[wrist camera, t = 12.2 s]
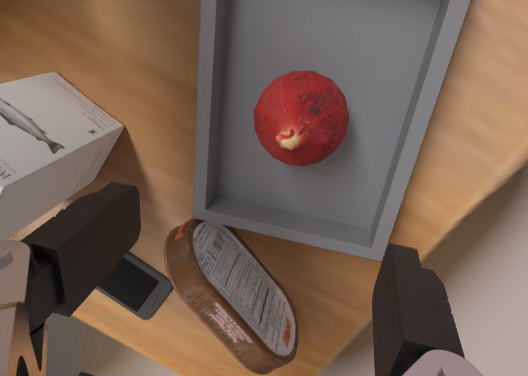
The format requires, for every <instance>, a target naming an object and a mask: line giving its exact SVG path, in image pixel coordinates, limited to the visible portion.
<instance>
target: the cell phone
mask: <svg viewBox="0 0 528 376" xmlns="http://www.w3.org/2000/svg"><path fill="white" fill-rule="evenodd" d="M62 210H63V209H62ZM62 210H60V211H59V212H61V211H62ZM59 212H58V213H59ZM96 289H97V290H99V291H100V292H102V293H103V294H105V295H106V296H108V297H109V298H111V299H112V300H114V301H115V302H117V303H118V304H120V305H121V306H123V307H125V308H126V309H128V310H129V311H131V312H132V313H134V314H135V315H137V316H138V317H140V318H141V319H144V320H146V319H149V318H150V317H151V316H152V315H153V314H154V313H155V311H156V310H157V309H158V307H159V306H160V305H161V303H162V302H163V301H164V300H165V298H166V297H167V296H168V294H169V293H170V292H171V290H172V289H173V285H172V283H171V281H170V279H169V278H167V277H166V276H164V275H163V274H161V273H160V272H158V271H157V270H156V269H154V268H153V267H151V266H150V265H148V264H147V263H145V262H144V261H142V260H141V259H139V258H138V257H136V256H135V255H133V254H132V253H130V252H129V251H128V252H127V253H126V255H125V256H124V257H123V258H122V259H121V260H120V261H119V262H118V263H117V265H116V266H115V267H114V268H113V269H112V270H111V271H110V272H109V274H108V275H107V276H106V277H105V278H104V279H103V280H102V281H101V282H100V284H99V285H98V286H97V287H96Z"/></svg>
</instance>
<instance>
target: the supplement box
mask: <svg viewBox="0 0 528 376" xmlns="http://www.w3.org/2000/svg"><path fill="white" fill-rule="evenodd" d="M123 129H124V126H123V125H122V124H121V123H120V122H118V121H117V120H115V119H114V118H113V117H111V116H110V115H108V114H107V113H106V112H104V111H103V110H102V109H101V108H99V107H98V106H97V105H95V104H94V103H93V102H92V101H90V100H89V99H88V98H87V97H85V96H84V95H83V94H82V93H80V92H79V91H78V90H77V89H75V88H74V87H73V86H72V85H71V84H69V83H68V82H67V81H66V80H65V79H63V78H62V77H61V76H60V75H59V74H58V73H56V72H50V73H45V74H41V75H36V76H32V77H28V78H24V79H19V80H15V81H11V82H7V83H2V84H0V241H5V240H7V239H8V238H10V237H11V236H13V235H14V234H16V233H17V232H19V231H20V230H22V229H23V228H25V227H26V226H27V225H29V224H30V223H32V222H33V221H35V220H36V219H38V218H39V217H41V216H42V215H44V214H45V213H47V212H48V211H50V210H51V209H53V208H54V207H55V206H57V205H58V204H60V203H61V202H63V201H64V200H66V199H67V198H69V197H70V196H72V195H73V194H75V193H76V192H78V191H79V190H81V189H82V188H84V187H85V186H87V185H88V184H90V183H91V182H92V181H94V179H95V177H96V176H97V174H98V172H99V170H100V169H101V167H102V165H103V164H104V162H105V160H106V158H107V157H108V155H109V153H110V152H111V150H112V148H113V146H114V144H115V143H116V141H117V139H118V137H119V136H120V134H121V132H122V130H123Z"/></svg>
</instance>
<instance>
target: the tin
mask: <svg viewBox="0 0 528 376" xmlns="http://www.w3.org/2000/svg"><path fill="white" fill-rule="evenodd" d="M164 262H165V267H166V271H167V274H168V276H169V279H170V281H171V283H172V285H173V287H174V289H175V291H176V292H177V294H178V295H179V297H180V298H181V299H182V300H183V301H184V302H185V304H186V305H187V306H188V307H189V308H190V309H191V310H192V311H193V312H194V313H195V314H196V315H197V316H198V318H199V319H200V320H201V321H202V322H203V323H204V324H205V325H206V326H207V327H208V328H209V329H210V330H211V331H212V332H213V334H214V335H215V336H216V337H217V338H218V339H219V340H220V341H221V342H222V343H223V345H224V346H225V347H226V348H227V349H228V350H229V351H230V352H231V353H232V355H233V356H234V357H235V358H236V359H237V360H238V361H239V362H240V363H241V364H242V365H243V366H244V367H245V368H246V369H248V370H249V371H251V372H253V373H255V374H260V375H264V374H268V373H270V372H271V371H273V370H274V369H277V368H279V367H281V366H284V365H286V364H288V363H289V362H291V361H292V360H293V359H294V357H295V354H296V350H297V343H298V324H297V320H296V316H295V313H294V310H293V308H292V306H291V303H290V301H289V299H288V297H287V296H286V294H285V292H284V291H283V289H282V288H281V287H280V286H279V284H278V283H277V282H276V281H275V279H274V278H273V277H272V276H271V275H270V273H269V272H268V271H267V270H266V269H265V267H264V266H263V265H262V264H261V263H260V261H259V260H258V259H257V258H256V257H255V255H254V254H253V253H252V252H251V251H250V249H249V248H248V247H247V246H246V245H245V243H244V242H243V241H242V240H241V239H240V237H239V236H238V235H237V234H236V233H235V232H234V231H233V229H232V228H231V227H230V226H226V225H221V224H217V223H213V222H209V221H204V220H200V219H196V218H192V219H190V220H189V221H187V222H186V223H184V224H183V225H181V226H178V227H176V228H174V229H173V230H172V231H171V232H170V233H169V235H168V237H167V239H166V242H165V247H164Z"/></svg>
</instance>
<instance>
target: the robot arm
mask: <svg viewBox="0 0 528 376" xmlns="http://www.w3.org/2000/svg"><path fill="white" fill-rule="evenodd" d="M140 229H141V222H140V202H139V191H138V188H137V187H136V186H132V185H128V184H123V183H118V182H111V183H109V184H108V185H107V186H105V187H104V188H103V189H101V190H100V191H99V192H97V193H92V194H89V195H87V196H84V197H82V198H79V199H77V200H76V201H74V202H73V203H72V204H70V205H69V206H68V207H66V210H65V209H63V210H62V211H61V212H59V213H58V214H57V215H56V217H52V218H51V219H50V220H48V221H47V222H46V223H44V224H43V225H42V226H40V227H39V228H37V229H36V230H35V231H33V232H32V233H31V234H29V235H28V236H26V237H25V238H24V239H22V240H21V241H20V242H19V241H12V240H8V241H0V376H45V372H46V350H47V330H48V327H47V321H46V319H47V318H48V317H49V316H50V315H51V314H52V313H57V314H60V315H64V316H67V317H70V316H71V315H72V314H73V312H74V311H75V310H76V309H77V308H78V307H79V306H80V305H81V304H82V302H83V301H84V300H85V299H86V298H87V297H88V296H89V295H90V294H91V292H92V291H93V290H94V289H95V288H96V287H97V286H98V285H99V284H100V282H101V281H102V280H103V279H104V278H105V277H106V276H107V275H108V274H109V272H110V271H111V270H112V269H113V268H114V267H115V266H116V265H117V263H118V262H119V261H120V260H121V259H122V258H123V257H124V256H125V255H126V253H127V252H128V251H129V250H130V249H131V248H132V247H133V246H134V244H135V243H136V241H137V240H138V237H139V234H140ZM372 312H373V338H374V362H375V363H374V364H375V376H483V375H482V374H481V373H480V372H479V371H478V369H477V368H476V367H474V366H473V365H472V364H471V363H470V362H469V361H467V360H465V357H464V353H463V350H462V346H461V343H460V339H459V336H458V332H457V329H456V325H455V322H454V318H453V315H452V314H451V308H450V304H449V302H448V298H447V294H446V290H445V287H444V284H443V283H442V282H441V280H440V279H439V278H438V277H437V276H436V274H435V273H434V272H433V270H429V269H424V268H421V264H420V260H419V255H418V251H417V249H414V248H409V247H405V246H400V245H396V244H391V243H390V244H389V246H388V248H387V250H386V253H385V256H384V259H383V262H382V265H381V268H380V271H379V274H378V277H377V280H376V283H375V286H374V291H373V298H372ZM79 376H94V375H90V374H87V373H84V372H81V373H80V375H79Z"/></svg>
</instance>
